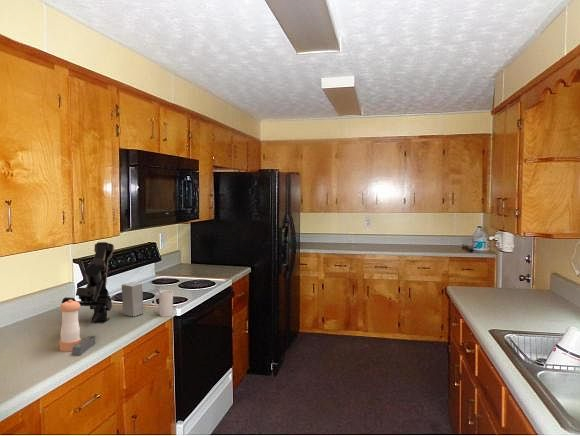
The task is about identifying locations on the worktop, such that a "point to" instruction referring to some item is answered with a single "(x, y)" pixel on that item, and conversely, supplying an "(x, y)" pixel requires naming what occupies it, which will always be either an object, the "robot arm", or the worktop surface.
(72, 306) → the salt shaker
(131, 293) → the skincare box
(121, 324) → the worktop surface
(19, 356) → the worktop surface
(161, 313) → the mug
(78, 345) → the steel bar
